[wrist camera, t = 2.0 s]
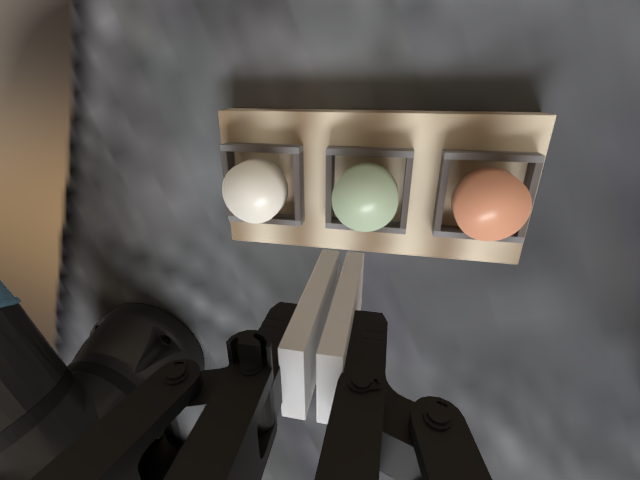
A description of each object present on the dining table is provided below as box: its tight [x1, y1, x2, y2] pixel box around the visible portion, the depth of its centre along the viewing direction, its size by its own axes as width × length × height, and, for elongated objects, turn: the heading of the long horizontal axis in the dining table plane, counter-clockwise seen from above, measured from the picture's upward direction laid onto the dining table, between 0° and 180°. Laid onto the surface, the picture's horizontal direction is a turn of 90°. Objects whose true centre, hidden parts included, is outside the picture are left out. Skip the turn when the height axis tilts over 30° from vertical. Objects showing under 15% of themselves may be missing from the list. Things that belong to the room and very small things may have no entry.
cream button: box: [222, 158, 288, 224], centre depth 29 cm, size 5×5×2 cm
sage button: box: [332, 162, 398, 232], centre depth 27 cm, size 5×5×2 cm
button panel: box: [218, 108, 556, 264], centre depth 30 cm, size 26×12×4 cm, turn 90°
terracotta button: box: [451, 168, 532, 241], centre depth 26 cm, size 5×5×2 cm
